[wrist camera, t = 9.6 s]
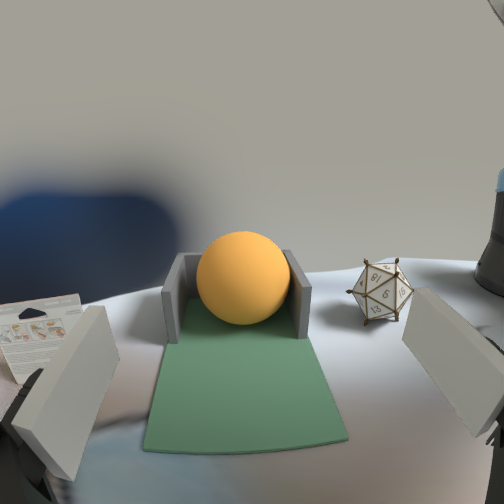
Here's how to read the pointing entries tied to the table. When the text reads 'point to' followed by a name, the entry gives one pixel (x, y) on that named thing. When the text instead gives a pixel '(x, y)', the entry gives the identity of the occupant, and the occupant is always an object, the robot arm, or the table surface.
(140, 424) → the table surface
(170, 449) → the pitch
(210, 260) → the ball
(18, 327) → the ink cartridge box
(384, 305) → the game die
